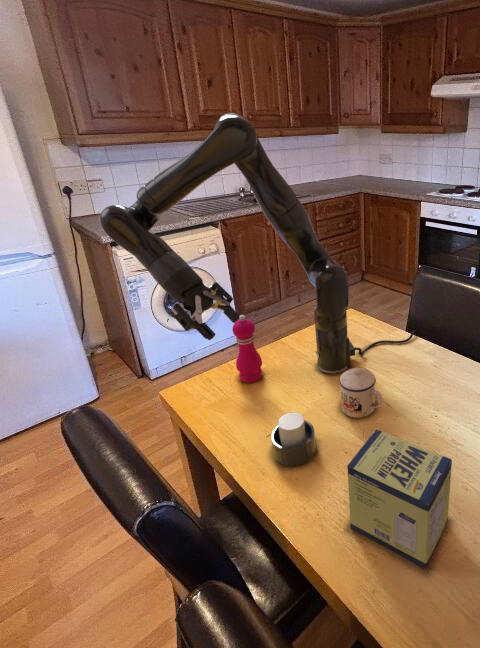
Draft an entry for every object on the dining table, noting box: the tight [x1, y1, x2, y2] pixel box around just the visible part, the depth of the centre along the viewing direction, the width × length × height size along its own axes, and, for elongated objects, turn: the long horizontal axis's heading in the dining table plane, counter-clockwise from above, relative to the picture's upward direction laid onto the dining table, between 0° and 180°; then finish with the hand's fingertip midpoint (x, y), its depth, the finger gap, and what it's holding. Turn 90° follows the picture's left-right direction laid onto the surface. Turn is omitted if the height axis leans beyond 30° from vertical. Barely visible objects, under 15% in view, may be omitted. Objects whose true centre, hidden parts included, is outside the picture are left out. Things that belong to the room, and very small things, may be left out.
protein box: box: [346, 429, 453, 569], centre depth 74 cm, size 10×16×16 cm
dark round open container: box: [270, 419, 317, 468], centre depth 93 cm, size 9×9×5 cm
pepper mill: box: [232, 314, 263, 384], centre depth 117 cm, size 7×7×20 cm
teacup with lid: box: [338, 367, 384, 419], centre depth 104 cm, size 12×9×12 cm
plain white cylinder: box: [277, 411, 306, 448], centre depth 92 cm, size 6×6×8 cm
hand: (225, 328), depth 95 cm, fingers open, 8 cm apart
